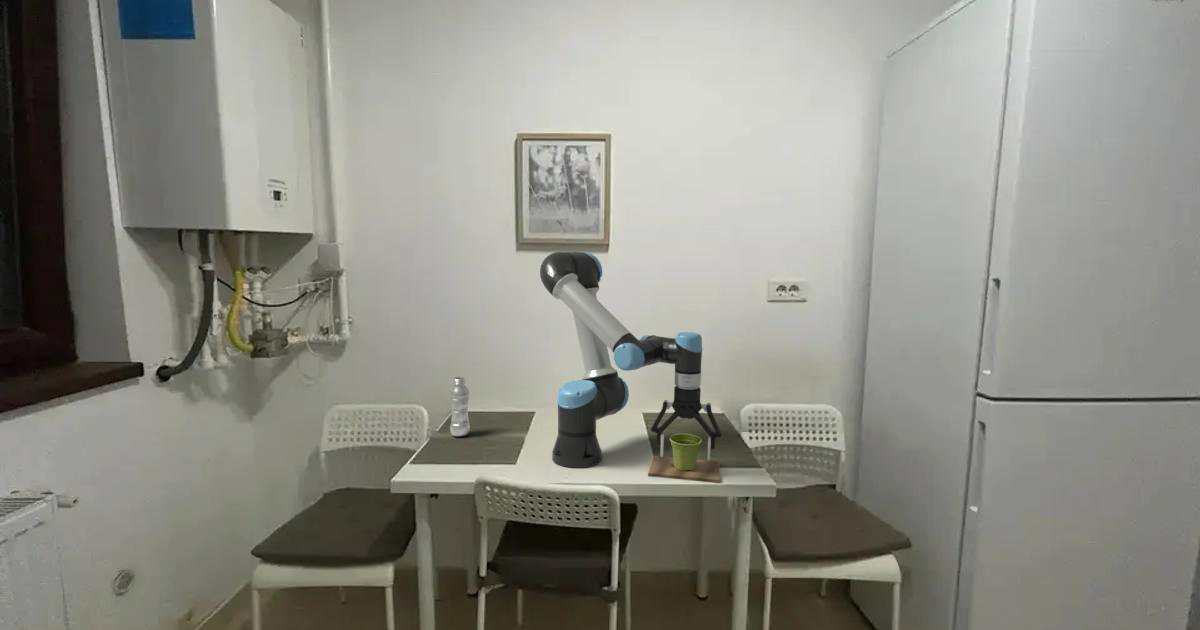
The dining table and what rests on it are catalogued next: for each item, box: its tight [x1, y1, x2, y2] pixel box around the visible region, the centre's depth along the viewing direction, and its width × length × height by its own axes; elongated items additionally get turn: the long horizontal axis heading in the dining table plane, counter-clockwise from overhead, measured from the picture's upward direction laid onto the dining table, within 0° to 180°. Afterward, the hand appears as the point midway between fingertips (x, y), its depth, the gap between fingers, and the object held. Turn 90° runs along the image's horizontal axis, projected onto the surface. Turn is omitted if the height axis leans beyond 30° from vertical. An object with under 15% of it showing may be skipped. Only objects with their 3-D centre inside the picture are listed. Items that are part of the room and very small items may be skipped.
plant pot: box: [669, 433, 703, 471], centre depth 167 cm, size 9×9×9 cm
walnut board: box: [647, 455, 721, 484], centre depth 167 cm, size 20×14×1 cm
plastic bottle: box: [449, 376, 471, 437], centre depth 194 cm, size 6×7×20 cm
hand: (685, 457), depth 167 cm, fingers open, 13 cm apart
